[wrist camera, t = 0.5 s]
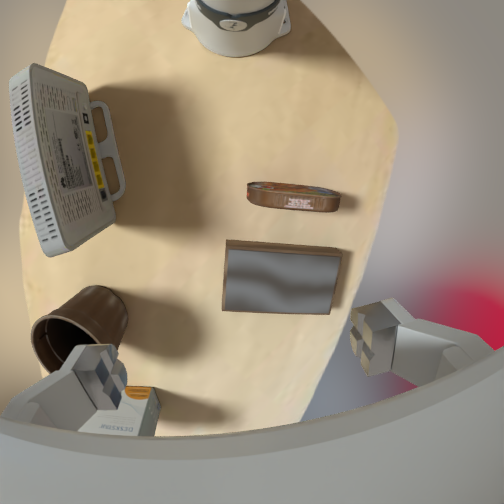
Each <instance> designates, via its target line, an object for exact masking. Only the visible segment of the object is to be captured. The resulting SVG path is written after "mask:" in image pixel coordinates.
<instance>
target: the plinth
mask: <svg viewBox="0 0 504 504" xmlns="http://www.w3.org/2000/svg"><path fill="white" fill-rule="evenodd" d="M341 260H342V253H341V252H340V251H339V250H338V249H337V248H332V247H319V246H306V245H293V244H280V243H266V242H253V241H239V240H226V250H225V264H224V279H223V295H222V311H232V312H252V313H276V314H314V315H330V311H331V307H332V303H333V298H334V294H335V289H336V284H337V280H338V275H339V270H340V265H341Z"/></svg>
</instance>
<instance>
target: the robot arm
mask: <svg viewBox="0 0 504 504" xmlns="http://www.w3.org/2000/svg"><path fill="white" fill-rule="evenodd" d="M283 22H285V23H284V24H283ZM182 25H183V26H184V27H185V28H187V29H189V30H190V31H192V32H193V33H194V34H195V35H196V37H197V38H198V40H199V41H200V42H201V44H202V45H203V46H205V47H206V48H207V49H209V50H210V51H212V52H214V53H217V54H219V55H223V56H229V57H242V56H248V55H252V54H254V53H257V52H259V51H261V50H263V49H264V48H266V47H267V46H268V45H269V44H270V43H271V42H272V41H273V40H274V39H276V38H278V37H281V36H283V35H286V34H288V33H289V32H290V30H291V24H290V18H289V12H288V6H287V1H286V0H190V2H189V3H188V4H187V9H186V11H185V13H184V15H183V17H182ZM351 321H352V323H353V324H354V326H353V327H352V329H351V330H350V340H351V346H352V349H353V352H354V353H355V355H356V356H357V357H359V358H361V366H362V367H363V369H364V371H365V373H366V374H367V376H368V377H370V376H373V375H377V374H381V373H384V372H388V371H392V372H393V373H395V374H397V375H398V376H400V377H402V378H404V379H406V380H407V381H409V382H411V383H413V384H415V385H417V386H418V388H415V389H413V390H410V391H407V392H405V393H402V394H399V395H396V396H394V397H391V398H388V399H385V400H382V401H379V402H376V403H373V404H369V405H366V406H363V407H359V408H356V409H353V410H349V411H345V412H341V413H338V414H334V415H330V416H325V417H321V418H317V419H312V420H308V421H303V422H298V423H293V424H287V425H282V426H276V427H270V428H263V429H256V430H249V431H241V432H232V433H222V434H210V435H194V436H123V435H108V434H96V433H87V432H78V430H79V429H80V428H81V427H82V426H83V425H84V424H85V423H86V422H87V421H88V420H89V419H90V418H91V417H92V416H93V415H94V414H95V413H96V412H97V410H118V407H119V404H120V401H121V399H122V396H121V394H120V392H121V391H123V390H124V389H125V388H126V385H127V372H126V368H125V366H124V364H123V363H122V362H121V361H119V360H118V359H117V358H118V354H119V353H118V351H117V349H116V347H115V346H114V345H113V344H91V345H77V346H75V348H74V349H73V351H72V352H71V353H70V355H69V356H68V358H67V359H66V361H65V362H64V364H63V365H62V367H61V368H60V370H59V371H55V372H53V373H51V374H50V375H48V376H47V377H45V378H43V379H42V380H40V381H39V382H37V383H35V384H34V385H32V386H31V387H29V388H27V389H26V390H24V391H23V392H21V393H20V394H18V395H16V396H15V397H13V398H12V399H11V401H10V402H9V404H8V405H7V407H6V408H5V410H4V411H3V413H2V415H1V416H0V504H504V346H503V347H501V348H500V349H498V350H496V351H494V350H493V349H492V348H491V347H490V346H489V345H487V343H485V342H484V341H483V340H482V339H481V338H480V337H479V336H478V335H476V334H472V333H469V332H465V331H461V330H458V329H454V328H451V327H447V326H444V325H440V324H436V323H433V322H429V321H426V320H422V319H417V320H415V319H414V318H413V317H412V316H411V315H410V314H409V313H408V312H407V311H406V310H405V309H404V308H403V307H402V306H401V305H400V304H399V303H398V302H397V301H396V300H395V299H393V298H389V299H386V300H383V301H379V302H376V303H372V304H369V305H364V306H361V307H357V308H353V309H352V310H351Z"/></svg>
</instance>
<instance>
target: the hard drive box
mask: <svg viewBox="0 0 504 504" xmlns="http://www.w3.org/2000/svg"><path fill="white" fill-rule="evenodd" d="M120 394H121V396H122V399H121V401H120V404H119V407H118V410H97V412H96V413H95V414H94V415H93V416H92V417H91V418H90V419H89V420H88V421H87V422H86V423H85V424H84V425H83V426H82V427H81V428H80V429H79V430H78V432H87V433H96V434H108V435H123V436H154V435H155V430H156V426H157V421H158V417H159V413H160V409H161V406H160V403H159V401H158V398H157V396H156V393H155V391H154V388H153V387H137V386H136V387H129V386H126V388H125V389H124V390H123V391H121V392H120Z"/></svg>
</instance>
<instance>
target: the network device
mask: <svg viewBox="0 0 504 504" xmlns="http://www.w3.org/2000/svg"><path fill="white" fill-rule="evenodd" d="M9 93H10V106H11V116H12V125H13V132H14V139H15V146H16V152H17V157H18V162H19V168H20V173H21V177H22V182H23V186H24V190H25V194H26V198H27V202H28V206H29V209H30V213H31V216H32V220H33V223H34V226H35V230H36V233H37V236H38V239H39V242H40V245H41V248H42V250H43V252H44V254H45V255H46V256H47V257H54V256H57V255H60V254H63V253H67V252H70V251H73V250H74V249H76V248H77V247H79V246H80V245H82V244H83V243H84V242H86V241H87V240H89V239H90V238H92V237H93V236H95V235H96V234H98V233H99V232H101V231H102V230H104V229H105V228H107V227H108V226H110V225H112V224H113V223H115V221H116V214H115V210H114V206H113V203H112V202H113V201H115V200H118V199H119V198H120V197H121V196H122V195H123V194H124V192H125V188H126V181H125V177H124V173H123V169H122V165H121V161H120V157H119V153H118V148H117V144H116V139H115V135H114V130H113V125H112V120H111V115H110V110H109V108H108V106H107V105H106V104H105V103H104V102H102V101H93V102H91V103H90V101H89V95H88V90H87V87H86V85H85V84H84V83H83V82H81V81H78V80H76V79H73V78H71V77H69V76H66V75H64V74H61V73H59V72H56V71H54V70H51V69H49V68H46V67H44V66H41V65H38V64H35V63H33V64H31V65H30V66H28V67H26V68H25V69H23V70H22V71H20V72H19V73H17V74H16V75H15V76H13V77H12V78H11V79H10V81H9ZM97 107H102V109H103V112H104V117H105V123H106V127H107V132H108V135H107V138H106V139H105V140H104V141H102V142H100V143H97V138H96V133H95V128H94V123H93V118H92V113H91V110H92V109H94V108H97ZM106 157H111V158H113V160H114V163H115V167H116V171H117V175H118V179H119V183H120V190H119V191H118V192H117V193H115V194H112V195H110V192H109V188H108V185H107V181H106V177H105V173H104V169H103V165H102V161H101V159H103V158H106Z"/></svg>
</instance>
